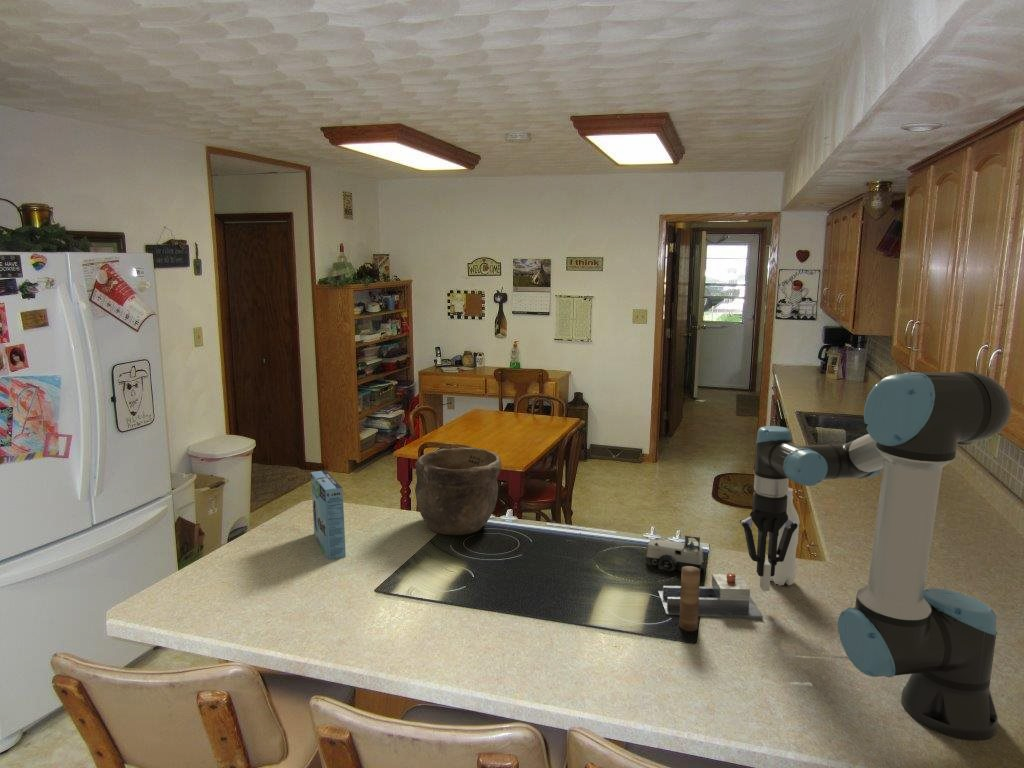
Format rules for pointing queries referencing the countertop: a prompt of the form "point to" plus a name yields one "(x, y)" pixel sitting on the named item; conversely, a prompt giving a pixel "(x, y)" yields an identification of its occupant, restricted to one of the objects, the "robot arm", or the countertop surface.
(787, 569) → the water bottle
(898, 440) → the robot arm
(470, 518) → the clay pot
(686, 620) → the dowel peg
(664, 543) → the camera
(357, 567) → the countertop surface
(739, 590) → the white rectangular block
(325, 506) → the blue carton box
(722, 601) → the mount
